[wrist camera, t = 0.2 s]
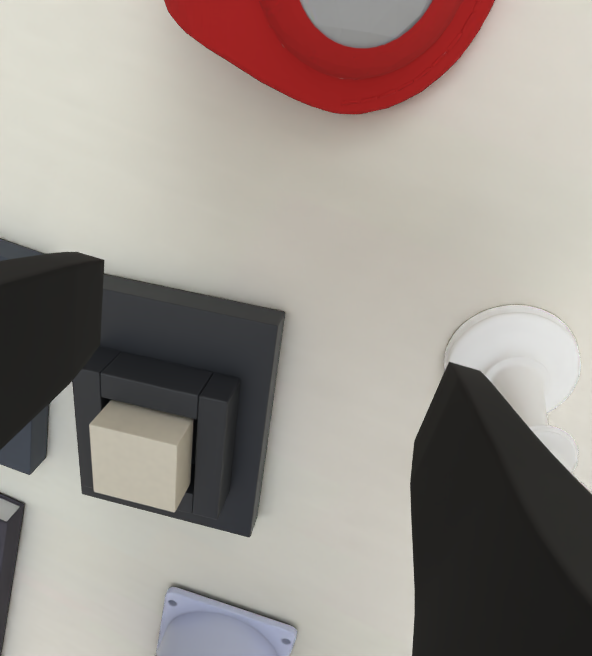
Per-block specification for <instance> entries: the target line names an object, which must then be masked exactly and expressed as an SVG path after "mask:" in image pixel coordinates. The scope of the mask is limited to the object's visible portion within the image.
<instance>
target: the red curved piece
mask: <svg viewBox="0 0 592 656" xmlns="http://www.w3.org/2000/svg"><path fill="white" fill-rule="evenodd" d="M164 1H165V4H166V7H167V10H168V12H169V13H170V15H171V16H172V17H173V18H174V20H175V21H176V22H177V24H178V25H179V26H180V27H181V28H182V29H183V30H184V31H185V32H186V33H187V34H189V35H190V36H191V37H193V38H194V39H195V40H197V41H198V42H199V43H201V44H202V45H203V46H205V47H206V48H208V49H209V50H211V51H213V52H214V53H216V54H217V55H219V56H221V57H222V58H224V59H226V60H227V61H229V62H230V63H232V64H233V65H235V66H237V67H238V68H240V69H241V70H243V71H244V72H246V73H247V74H249V75H251V76H252V77H254V78H255V79H257V80H258V81H260V82H262V83H264V84H266V85H268V86H270V87H272V88H273V89H275V90H277V91H279V92H281V93H283V94H285V95H287V96H289V97H291V98H293V99H295V100H297V101H300V102H302V103H305V104H307V105H310V106H313V107H316V108H319V109H322V110H325V111H328V112H333V113H338V114H363V113H368V112H372V111H376V110H381V109H385V108H389V107H391V106H394V105H396V104H398V103H401V102H403V101H405V100H407V99H409V98H411V97H413V96H414V95H416V94H418V93H420V92H422V91H423V90H424V89H426V88H427V87H428V86H429V85H431V84H432V83H433V82H434V81H436V80H437V79H438V78H439V77H441V76H442V75H443V74H444V73H445V72H446V71H447V70H448V69H449V68H450V67H451V66H452V65H453V64H454V63H455V62H456V61H457V60H458V59H459V58H460V57H461V55H462V54H463V53H464V51H465V50H466V49H467V47H468V46H469V45H470V43H471V42H472V40H473V39H474V37H475V36H476V34H477V33H478V31H479V30H480V28H481V26H482V25H483V23H484V21H485V19H486V17H487V15H488V14H489V12H490V10H491V7H492V5H493V3H494V1H495V0H164Z"/></svg>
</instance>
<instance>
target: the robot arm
mask: <svg viewBox="0 0 592 656" xmlns="http://www.w3.org/2000/svg"><path fill="white" fill-rule="evenodd" d="M103 277H104V260H102V259H99V258H95V257H92V256H89V255H85V254H82V253H78V252H61V253H50V254H42V255H35V256H28V257H21V258H15V259H8V260H2V261H0V450H1V449H2V448H3V447H4V446H5V445H6V444H7V443H8V442H9V441H10V440H11V439H12V438H13V437H14V436H16V435H17V434H18V433H19V432H20V431H21V430H22V429H23V428H24V427H25V426H26V425H27V424H28V423H29V422H30V421H31V420H32V419H33V418H34V417H35V416H37V415H38V414H39V413H40V412H41V411H42V410H43V409H44V408H45V407H46V406H47V405H48V404H49V403H50V402H51V401H52V400H53V399H54V398H55V397H56V396H57V395H58V394H59V393H60V392H61V391H62V390H63V389H64V388H66V387H67V386H68V385H69V383H70V382H71V381H72V380H73V379H74V378H75V377H76V376H77V375H78V373H79V372H80V371H81V370H82V368H83V367H84V366H85V365H86V363H87V362H88V361H89V359H90V358H91V356H92V355H93V354H94V352H95V351H96V350H97V348H98V347H99V346H100V340H101V319H102V298H103ZM410 491H411V518H412V540H413V562H414V584H415V618H414V635H413V651H412V656H592V494H591V493H590V492H589V491H588V490H587V489H586V488H585V487H584V486H583V485H582V484H581V483H580V482H579V481H578V480H577V479H576V478H575V477H574V476H573V475H572V474H571V473H570V472H569V471H568V470H567V469H566V468H565V466H564V465H563V464H562V463H561V462H560V461H559V460H558V459H557V458H556V457H555V456H554V455H553V454H552V453H551V452H550V451H549V449H548V448H547V447H546V446H545V445H544V444H543V443H542V442H541V441H540V439H539V438H538V437H537V436H536V435H535V434H534V433H533V431H532V430H531V429H530V428H529V427H528V426H527V424H526V423H525V422H524V421H523V420H522V419H521V417H520V416H519V415H518V414H517V413H516V411H515V410H514V409H513V408H512V407H511V405H510V404H509V403H508V402H507V401H506V399H505V398H504V397H503V396H502V394H501V393H500V392H499V391H498V390H497V389H496V387H495V386H494V385H493V384H492V383H491V382H490V380H489V379H488V378H487V377H486V376H485V375H484V374H483V373H482V372H481V371H479V370H476V369H473V368H469V367H466V366H462V365H459V364H456V363H452V362H449V363H448V365H447V368H446V370H445V372H444V374H443V377H442V379H441V381H440V384H439V386H438V388H437V390H436V393H435V395H434V397H433V400H432V402H431V404H430V407H429V409H428V411H427V413H426V416H425V418H424V420H423V423H422V425H421V427H420V429H419V432H418V434H417V436H416V439H415V442H414V451H413V460H412V470H411V482H410ZM296 637H297V630H296V629H295V628H294V627H293V626H291V625H288V624H285V623H282V622H279V621H276V620H273V619H270V618H267V617H264V616H261V615H258V614H255V613H252V612H249V611H246V610H243V609H240V608H237V607H234V606H231V605H228V604H225V603H222V602H219V601H216V600H213V599H210V598H207V597H204V596H201V595H198V594H195V593H192V592H189V591H186V590H183V589H180V588H177V587H170V588H169V589H168V590H167V593H166V595H165V601H164V608H163V614H162V620H161V627H160V633H159V639H158V645H157V652H156V655H155V656H290V654H291V651H292V648H293V646H294V643H295V640H296Z"/></svg>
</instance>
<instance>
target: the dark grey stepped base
mask: <svg viewBox="0 0 592 656" xmlns="http://www.w3.org/2000/svg"><path fill="white" fill-rule="evenodd" d="M284 318H285V312H284V311H279V310H274V309H269V308H265V307H260V306H255V305H250V304H245V303H241V302H236V301H231V300H226V299H222V298H217V297H212V296H207V295H202V294H198V293H193V292H188V291H183V290H178V289H174V288H169V287H164V286H159V285H155V284H150V283H145V282H140V281H135V280H131V279H126V278H121V277H116V276H111V275H107V274H104V277H103V298H102V319H101V340H100V346H99V347H98V348H97V350H96V351H95V352H94V354H93V355H92V356H91V358H90V359H89V361H88V362H87V363H86V365H85V366H84V367H83V368H82V370H81V371H80V372H79V373H78V375H77V376H76V377H75V378H74V379H73V380H72V382H73V393H74V405H75V417H76V429H77V441H78V453H79V465H80V477H81V488H82V494H84V495H88V496H92V497H96V498H100V499H103V500H107V501H111V502H115V503H119V504H123V505H127V506H130V507H134V508H138V509H142V510H146V511H150V512H153V513H157V514H161V515H165V516H169V517H173V518H177V519H180V520H184V521H188V522H192V523H196V524H200V525H204V526H207V527H211V528H215V529H219V530H223V531H227V532H230V533H234V534H238V535H242V536H246V537H250V536H251V534H252V531H253V528H254V525H255V522H256V519H257V515H258V507H259V500H260V493H261V486H262V478H263V471H264V464H265V456H266V449H267V442H268V435H269V427H270V420H271V413H272V406H273V398H274V391H275V384H276V376H277V369H278V362H279V355H280V347H281V340H282V333H283V325H284ZM110 400H116V401H120V402H125V403H129V404H133V405H137V406H141V407H146V408H150V409H154V410H158V411H163V412H167V413H171V414H175V415H179V416H184V417H188V418H192V419H193V441H192V461H191V481H190V485H189V487H188V489H187V491H186V492H185V494H184V496H183V498H182V500H181V502H180V504H179V506H178V508H177V510H176V511H175V512H170V511H167V510H163V509H159V508H155V507H151V506H147V505H143V504H140V503H136V502H132V501H128V500H124V499H120V498H116V497H112V496H109V495H105V494H101V493H97V492H94V487H93V473H92V458H91V444H90V429H89V424H90V423H91V422H92V421H93V420H94V418H95V417H96V416H97V415H98V414H99V413H100V412H101V411H102V409H103V408H104V407H105V406H106V405H107V404H108V403H109V402H110Z"/></svg>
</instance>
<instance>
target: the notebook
mask: <svg viewBox="0 0 592 656" xmlns="http://www.w3.org/2000/svg"><path fill="white" fill-rule="evenodd" d="M23 511H24V504H23V503H21V502H19V501H16V500H14V499H12V498H9V497H7V496H5V495H2V494H0V656H1V652H2V645H3V639H4V633H5V626H6V620H7V614H8V607H9V601H10V594H11V588H12V582H13V575H14V569H15V562H16V556H17V550H18V543H19V537H20V531H21V524H22V518H23Z"/></svg>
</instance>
